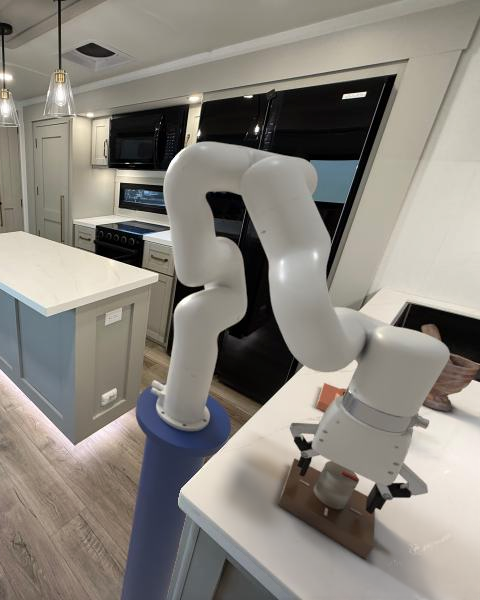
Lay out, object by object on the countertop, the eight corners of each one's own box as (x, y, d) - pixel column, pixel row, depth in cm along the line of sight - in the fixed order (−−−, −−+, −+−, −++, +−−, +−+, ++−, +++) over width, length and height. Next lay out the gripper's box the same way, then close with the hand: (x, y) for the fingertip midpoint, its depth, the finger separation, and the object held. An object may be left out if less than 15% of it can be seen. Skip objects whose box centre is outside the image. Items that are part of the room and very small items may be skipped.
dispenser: (315, 407, 78) (321, 395, 76) (321, 389, 85) (326, 377, 83) (378, 434, 71) (386, 420, 69) (379, 411, 77) (386, 399, 76)
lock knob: (311, 496, 53) (324, 471, 51) (315, 479, 56) (327, 455, 54) (343, 515, 50) (358, 489, 48) (346, 496, 53) (360, 471, 51)
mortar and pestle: (391, 396, 83) (426, 331, 75) (390, 381, 89) (422, 319, 81) (455, 417, 76) (501, 348, 68) (448, 400, 82) (490, 334, 74)
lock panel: (277, 504, 55) (282, 492, 54) (289, 468, 62) (294, 457, 60) (365, 559, 47) (374, 547, 46) (368, 511, 54) (375, 499, 53)
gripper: (459, 426, 43) (403, 507, 50) (309, 372, 53) (281, 445, 60) (469, 459, 38) (405, 545, 44) (301, 392, 48) (271, 470, 55)
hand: (334, 487), depth 52 cm, fingers open, 8 cm apart
